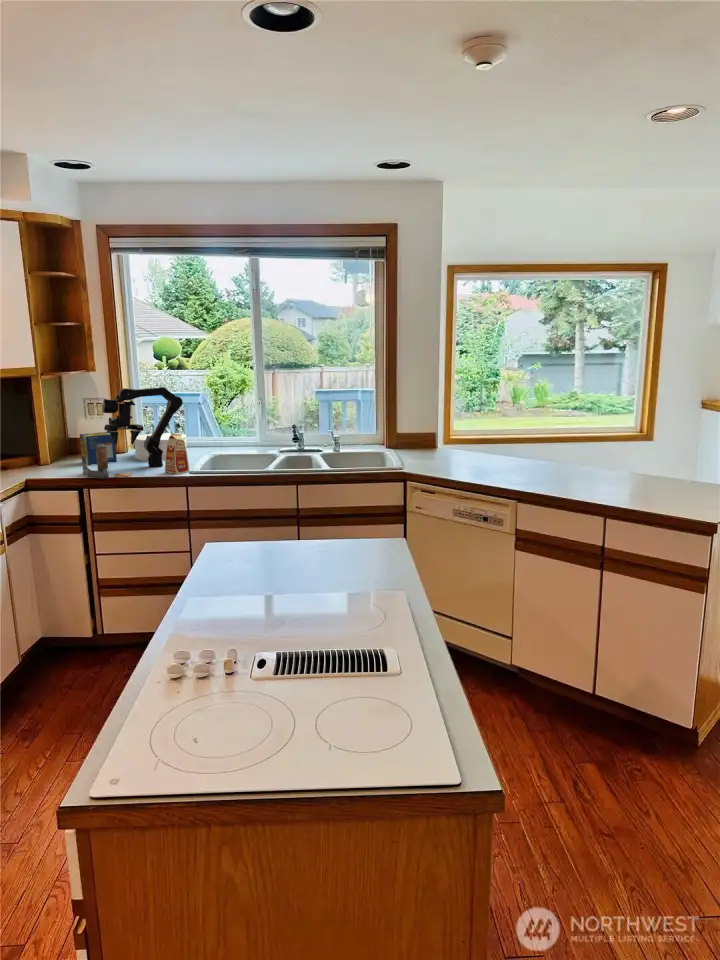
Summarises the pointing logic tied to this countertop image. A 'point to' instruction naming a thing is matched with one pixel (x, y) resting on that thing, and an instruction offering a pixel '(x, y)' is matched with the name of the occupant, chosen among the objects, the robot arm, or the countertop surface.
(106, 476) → the gray curved bracket
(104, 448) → the pepper mill
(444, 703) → the countertop surface
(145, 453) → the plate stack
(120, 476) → the trivet
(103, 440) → the protein box
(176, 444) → the milk carton
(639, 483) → the countertop surface
